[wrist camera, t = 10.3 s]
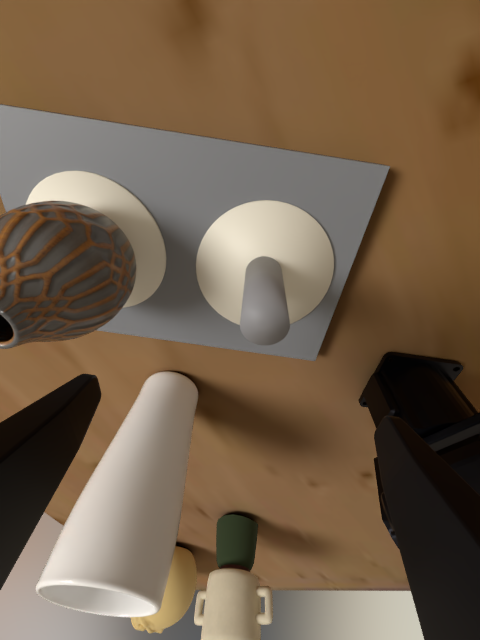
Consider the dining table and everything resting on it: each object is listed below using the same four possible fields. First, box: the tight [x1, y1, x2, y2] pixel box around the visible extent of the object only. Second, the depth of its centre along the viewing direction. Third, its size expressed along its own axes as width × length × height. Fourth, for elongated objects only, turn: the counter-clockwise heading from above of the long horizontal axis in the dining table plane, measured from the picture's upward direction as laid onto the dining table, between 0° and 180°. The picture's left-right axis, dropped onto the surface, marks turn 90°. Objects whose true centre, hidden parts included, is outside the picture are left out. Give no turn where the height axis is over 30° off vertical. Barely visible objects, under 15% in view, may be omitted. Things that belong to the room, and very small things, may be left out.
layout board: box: [0, 104, 390, 361], centre depth 16 cm, size 22×14×7 cm, turn 83°
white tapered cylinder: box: [36, 371, 198, 617], centre depth 21 cm, size 7×7×15 cm
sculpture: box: [130, 546, 197, 633], centre depth 48 cm, size 11×12×11 cm
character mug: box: [194, 514, 273, 640], centre depth 38 cm, size 11×7×13 cm, turn 116°
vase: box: [0, 201, 136, 349], centre depth 14 cm, size 7×7×9 cm
